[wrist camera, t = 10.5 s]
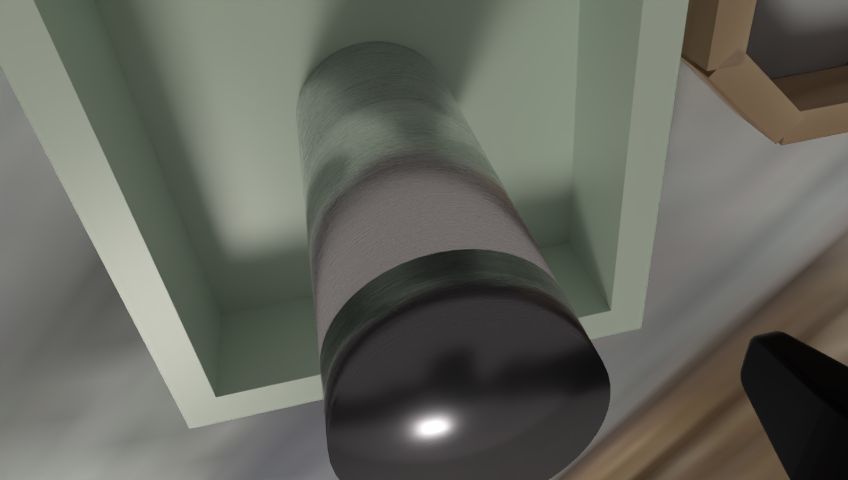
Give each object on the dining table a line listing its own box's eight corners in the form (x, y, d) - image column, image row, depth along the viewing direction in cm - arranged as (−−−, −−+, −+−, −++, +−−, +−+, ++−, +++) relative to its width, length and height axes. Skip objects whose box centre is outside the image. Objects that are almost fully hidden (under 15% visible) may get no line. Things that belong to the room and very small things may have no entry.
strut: (443, 28, 16) (620, 291, 8) (456, 169, 18) (602, 478, 11) (279, 56, 16) (298, 362, 8) (313, 196, 18) (355, 539, 10)
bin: (619, -219, 14) (719, -208, 11) (587, 245, 22) (641, 328, 19) (-2, -133, 13) (-82, -93, 10) (199, 327, 21) (189, 428, 18)
